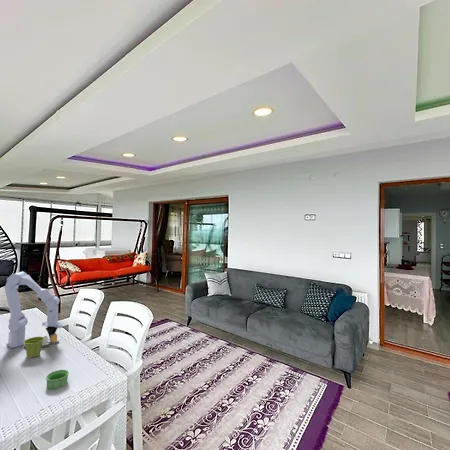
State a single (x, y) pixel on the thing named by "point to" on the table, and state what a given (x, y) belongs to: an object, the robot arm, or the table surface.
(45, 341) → the white breaker
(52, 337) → the breaker orange
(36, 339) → the plant pot
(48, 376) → the ramekin
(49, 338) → the panel
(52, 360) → the table surface
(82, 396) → the table surface
